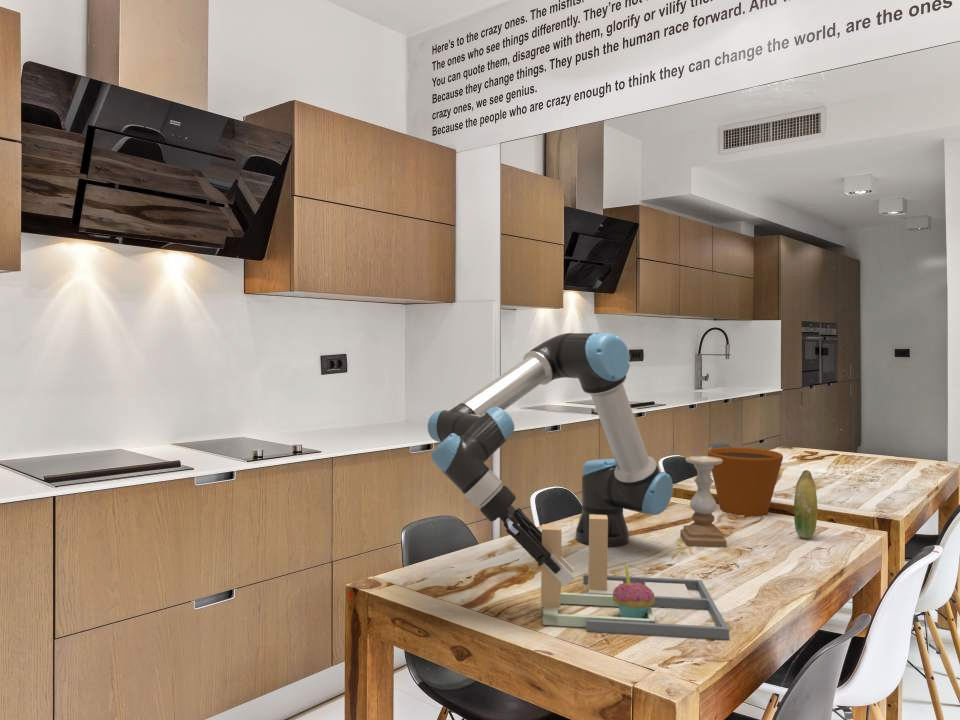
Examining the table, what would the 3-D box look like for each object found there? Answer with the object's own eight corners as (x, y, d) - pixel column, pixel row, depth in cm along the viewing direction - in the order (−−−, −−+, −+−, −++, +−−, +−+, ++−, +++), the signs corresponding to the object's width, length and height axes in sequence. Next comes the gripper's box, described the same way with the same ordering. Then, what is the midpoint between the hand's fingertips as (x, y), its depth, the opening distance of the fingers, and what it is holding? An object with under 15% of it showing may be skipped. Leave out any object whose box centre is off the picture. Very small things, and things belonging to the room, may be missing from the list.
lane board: (586, 631, 138) (586, 621, 138) (583, 582, 165) (583, 574, 165) (728, 639, 134) (729, 629, 134) (701, 588, 162) (701, 580, 162)
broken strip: (589, 599, 154) (590, 522, 153) (587, 584, 164) (588, 511, 163) (692, 605, 151) (693, 526, 151) (684, 589, 161) (685, 514, 161)
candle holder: (717, 536, 206) (719, 455, 205) (727, 547, 195) (728, 462, 194) (679, 535, 207) (680, 454, 206) (686, 546, 196) (688, 461, 195)
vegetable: (821, 540, 202) (823, 471, 202) (805, 542, 200) (806, 473, 199) (805, 535, 208) (806, 468, 207) (788, 537, 206) (790, 469, 205)
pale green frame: (540, 624, 140) (541, 535, 140) (542, 600, 153) (543, 519, 153) (655, 631, 138) (656, 540, 137) (647, 606, 150) (648, 523, 150)
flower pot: (792, 511, 238) (793, 452, 237) (766, 524, 220) (767, 461, 220) (723, 500, 254) (724, 445, 253) (694, 511, 236) (695, 452, 236)
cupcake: (626, 628, 139) (627, 568, 139) (604, 613, 147) (604, 556, 147) (663, 622, 142) (663, 564, 142) (638, 607, 150) (639, 552, 150)
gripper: (483, 499, 156) (557, 576, 155) (473, 518, 139) (556, 605, 138) (507, 476, 156) (581, 553, 154) (500, 493, 139) (583, 579, 137)
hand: (569, 577), depth 146 cm, fingers closed on pale green frame, 4 cm apart
